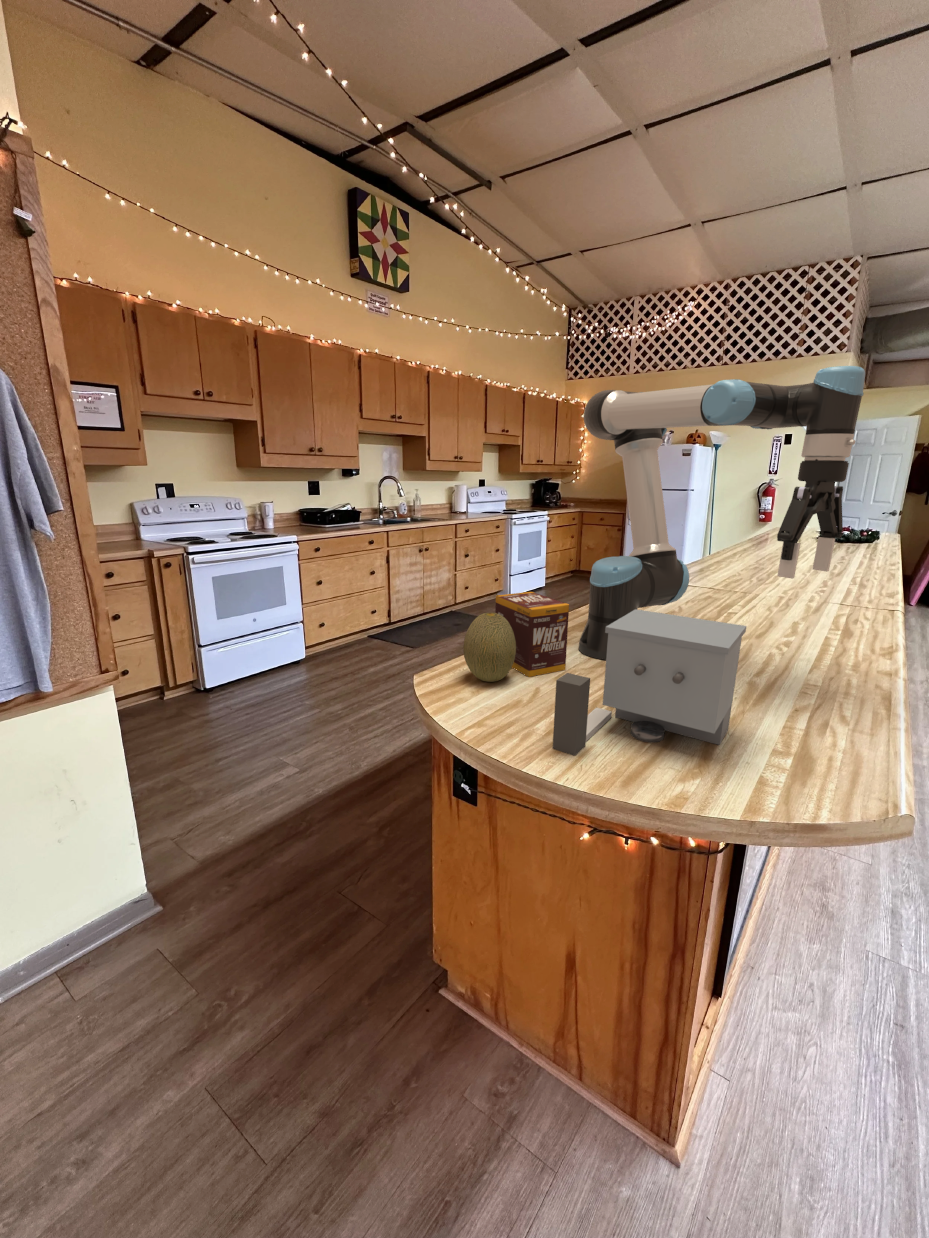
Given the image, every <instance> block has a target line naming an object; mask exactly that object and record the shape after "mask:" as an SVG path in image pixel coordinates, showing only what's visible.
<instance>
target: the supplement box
mask: <svg viewBox="0 0 929 1238" xmlns="http://www.w3.org/2000/svg"><path fill="white" fill-rule="evenodd" d="M569 612H570V603H566V602H562V601H560V600H557V599H555V598H551V597H549V596H545V595H543V594H540V593H536V592H534V591H526V592H516V593H507V594H498V595H495V611H494V613H497V614H500V615H502V616H503V617H504V618H505V619H506V620H507V621H508V622H509V624H510V626H511V628H512V630H513V633H514V637H515V641H516V654H515V659H514V663H513V665H512V667H513V668H512V669H514V668H515V669H517V670H518V672H519V671H520V672H522V673H523V675H524V674H525V675H524V676H526V677H527V676H528V677H527V678H530V677H531V678H532V677H536V675H537V676H541V675H546V674H552V673H557V672H561V671H566V665H567V649H568V648H567V647H568V631H569V629H568V628H569V627H568V626H569ZM515 669H514V670H515ZM517 670H516V671H517ZM520 672H519V673H520ZM522 673H521V674H522Z"/></svg>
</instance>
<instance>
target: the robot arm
mask: <svg viewBox="0 0 929 1238" xmlns="http://www.w3.org/2000/svg"><path fill="white" fill-rule="evenodd" d="M865 377H866V370H865V369H864V368H863V367H861V366H858V365H842V366H841V365H837V366H836V365H835V366H829V367H828V366H827V367H825V368H820V369H819V370H818V371H817V372H816V373H815V376H814V379H813V382H809V383H804V384H793V385H777V384H770V383H769V384H768V383H760V382H751V381H745V380H742V379H733V378H732V379H722V380H719V381H716V382H715V383H714V384H713V383H712V384H704V385H703V384H702V385H696V386H695V385H694V386H687V387H680V388H679V387H678V388H670V389H661V390H652V391H639V392H638V391H637V392H636V391H624V390H621V389H619V390H617V389H607V390H606V389H605V390H601V391H599V392H596V393H595V394H594V395H592V396H591V397H590V399H589V400H588V401H587V403H586V405H585V407H584V411H583V423H584V425H585V427H586V428H585V429H587V431H588V432H589V434H590V435H592V436H594V437H595V438H597V439H600V440H605V441H613V443H614V451H615V453H616V454H617V455H619V456H620V457H621V458H622V466H623V473H624V482H625V490H626V498H627V507H628V513H629V516H628V517H629V522H630V523H629V525H630V529H631V530H630V531H631V538H632V547H633V549H632V551H631V553H629V555H627V556H626V555H619V556H609V557H604V558H603V557H602V558H601V559H599V560H596V561H595V562H594V563H593V564H592V567H591V574H590V577H589V584H590V585H589V598H588V616H587V621H586V624H585V626H584V629H583V630H582V633H581V635H580V638H579V642H578V650H579V651H580V652H581V653H582V654H583V655H585V656H588V657H591V658H594V659H597V660H602V661H603V660H604V661H606V656H607V643H608V633H605V628H606V626H608V625H610V624H611V623H613V622H615V621H616V620H618V619H620V618H622V617H623V616H625V615H627V614H628V613H630V612H632V611H633V610H635V609H637V610H639V609H640V608H649V607H655V606H665V605H668V604H672V603H675V602H676V601H679V600H680V599H681V598H682V597H683V596H684V594H685V593H686V592H687V589H688V587H689V584H690V583H689V582H690V573H689V568H688V566H687V564H685V563H684V562H683V560H681V559H680V558H678V555H677V549H676V548H675V547H673V546H672V545H671V544H670V543H669V535H668V528H667V526H668V525H667V519H666V511H665V504H664V503H665V502H664V494H663V493H664V492H663V486H662V478H661V471H660V461H659V454H658V450H659V448H660V447H661V445H662V444H663V442H664V441H663V437H664V436H665V435H666V433H667V432H668V428H688V427H689V428H691V427H722V426H723V427H725V426H739V427H740V426H742V427H744V426H745V427H746V426H747V427H750V428H752V429H755V430H773V429H782V428H783V429H784V428H794V427H795V428H796V427H805V428H806V429H805V434H804V441H803V445H802V450H801V457H802V458H804V460H801V462H800V464H799V469H798V474H797V480H798V481H800V482H805V484H804V486H795V487H794V490H793V493H792V498H791V501H790V503H789V505H788V508H787V510H786V513H785V515H784V517H783V520H782V522H781V524H780V527H779V529H778V532H777V533H776V540H777V542H782V548H781V554H780V558H779V559H780V560H779V565H778V571H777V577H778V578H779V577H780V578H786V579H795V577H796V576H795V575H796V570H797V564H798V560H799V555H800V548H801V543H800V542H799V541H800V538H801V537H802V535H803V534H804V532H805V530H806V528H807V526H808V524H809V523H810V521H811V519H812V517H813V516H814V515H816V517H817V521H818V525H819V529H820V534H821V536H818V539H817V543H816V548H815V553H814V557H813V558H814V560H813V565H812V570H815V571H822V572H829V571H830V567H831V566H830V565H831V561H832V556H833V552H834V551H833V550H834V545H835V542H836V539H841V538H842V536H843V531H844V530H843V529H844V527H843V493H844V486H842V485H836V483H842V482H845V481H846V479H847V475H848V469H849V466H850V463H849V462H848V460H846V458H849V457H850V456H851V453H852V447H853V446H854V445H855V444H856V439H854V437H855V432H856V426H857V421H858V416H859V411H860V407H861V401H862V398H863V396H864V388H865V387H864V386H865V381H866V379H865Z"/></svg>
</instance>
